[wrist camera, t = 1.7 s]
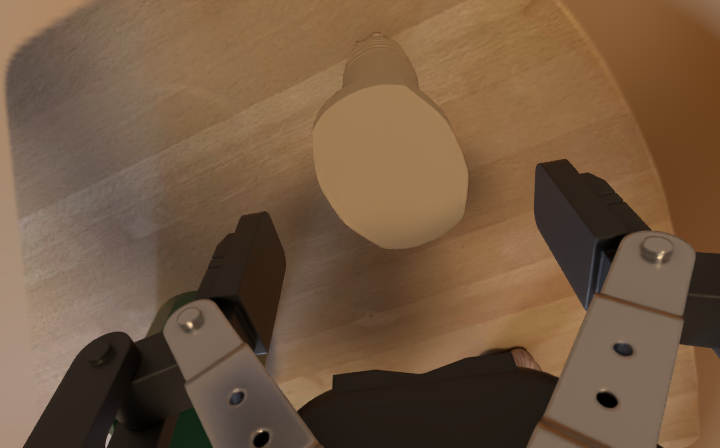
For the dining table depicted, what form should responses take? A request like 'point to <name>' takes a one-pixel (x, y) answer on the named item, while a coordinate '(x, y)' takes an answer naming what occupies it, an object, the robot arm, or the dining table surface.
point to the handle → (388, 152)
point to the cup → (189, 433)
